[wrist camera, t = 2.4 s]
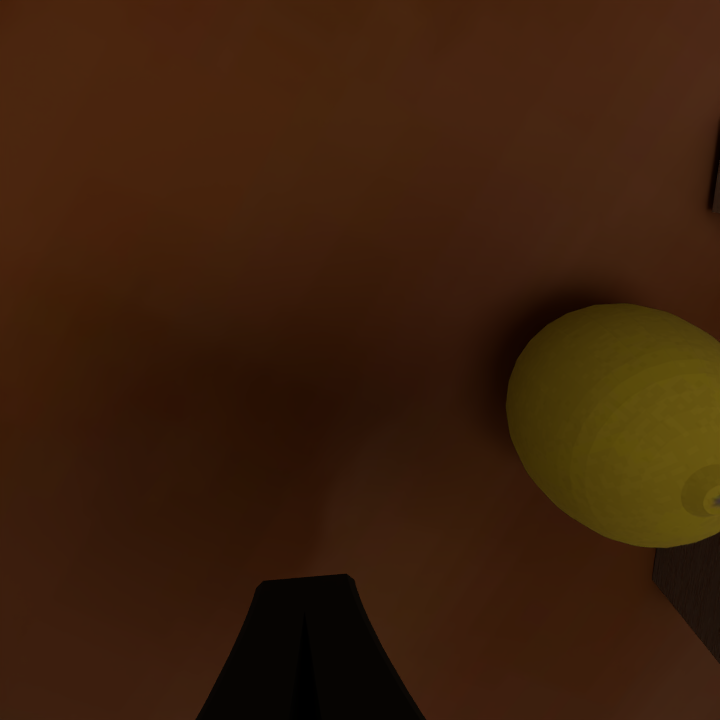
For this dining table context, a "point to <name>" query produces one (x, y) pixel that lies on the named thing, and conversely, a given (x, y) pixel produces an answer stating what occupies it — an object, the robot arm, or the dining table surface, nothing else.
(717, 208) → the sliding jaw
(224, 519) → the dining table surface
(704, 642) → the vise body
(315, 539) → the dining table surface
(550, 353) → the lemon
